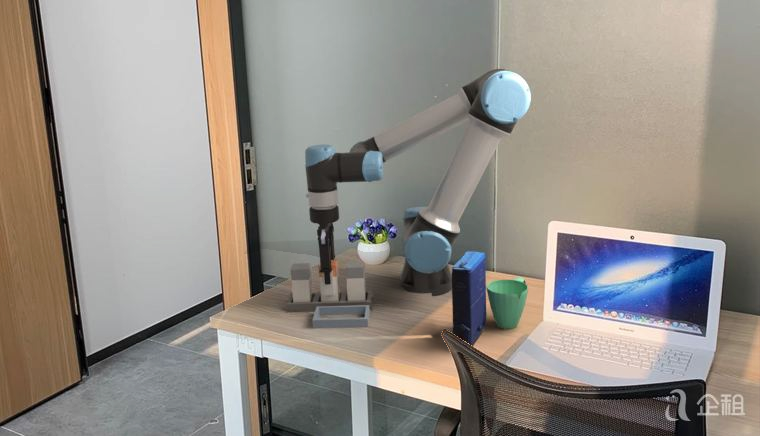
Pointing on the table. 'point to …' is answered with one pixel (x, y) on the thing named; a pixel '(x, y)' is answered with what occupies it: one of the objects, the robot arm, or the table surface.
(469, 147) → the robot arm
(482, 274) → the book
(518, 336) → the table surface
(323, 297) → the block
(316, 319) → the tray
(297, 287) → the block
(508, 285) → the mug
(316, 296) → the block
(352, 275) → the block
